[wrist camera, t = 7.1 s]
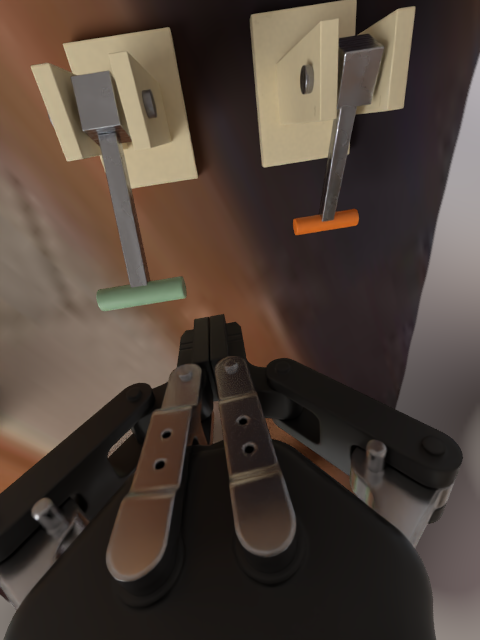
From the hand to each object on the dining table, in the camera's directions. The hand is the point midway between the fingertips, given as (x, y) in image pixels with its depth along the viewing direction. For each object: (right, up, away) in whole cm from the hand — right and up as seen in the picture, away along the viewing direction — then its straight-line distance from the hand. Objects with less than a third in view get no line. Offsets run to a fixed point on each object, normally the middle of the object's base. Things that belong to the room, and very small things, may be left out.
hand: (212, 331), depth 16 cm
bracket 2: (+7, +21, +13) cm, 26 cm away
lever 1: (-6, +8, +5) cm, 11 cm away
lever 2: (+8, +14, +8) cm, 18 cm away
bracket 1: (-8, +19, +13) cm, 24 cm away
